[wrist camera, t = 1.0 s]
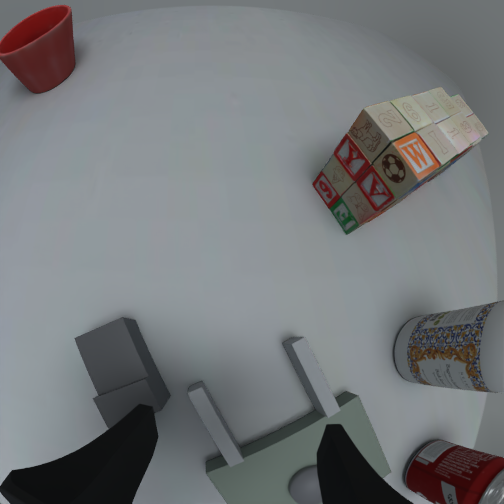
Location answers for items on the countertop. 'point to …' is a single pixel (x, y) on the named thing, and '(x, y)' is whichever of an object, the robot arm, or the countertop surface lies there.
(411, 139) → the stack of blocks
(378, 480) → the robot arm
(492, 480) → the soda can
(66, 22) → the flower pot
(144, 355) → the grey block with ledge
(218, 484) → the forked grey-green block
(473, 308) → the bath foam
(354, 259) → the countertop surface
